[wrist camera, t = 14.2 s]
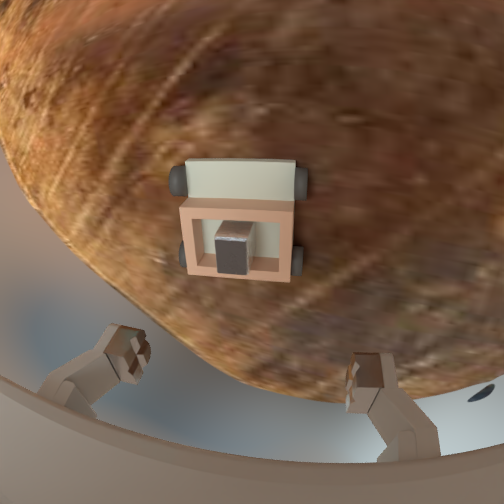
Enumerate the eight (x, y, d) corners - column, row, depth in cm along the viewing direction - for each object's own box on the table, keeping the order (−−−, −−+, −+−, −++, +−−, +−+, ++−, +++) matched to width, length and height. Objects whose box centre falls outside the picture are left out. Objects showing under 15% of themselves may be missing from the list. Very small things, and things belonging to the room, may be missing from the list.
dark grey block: (225, 215, 43) (212, 238, 37) (255, 217, 42) (246, 240, 36) (227, 248, 45) (216, 274, 40) (256, 250, 44) (248, 276, 39)
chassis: (178, 159, 41) (163, 169, 37) (307, 160, 38) (307, 171, 34) (190, 260, 49) (179, 279, 45) (301, 268, 47) (300, 289, 42)
